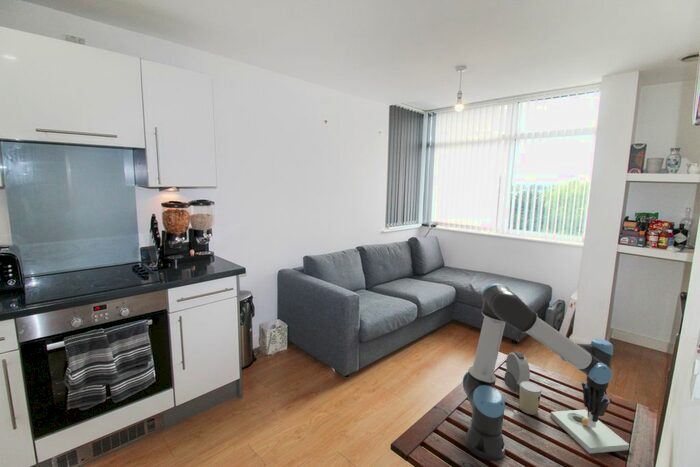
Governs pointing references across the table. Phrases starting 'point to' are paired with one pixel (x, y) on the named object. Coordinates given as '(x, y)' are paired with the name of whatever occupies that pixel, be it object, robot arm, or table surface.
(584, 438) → the plate
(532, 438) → the table surface
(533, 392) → the coffee cup
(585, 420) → the ball
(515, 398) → the table surface
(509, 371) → the alarm clock
